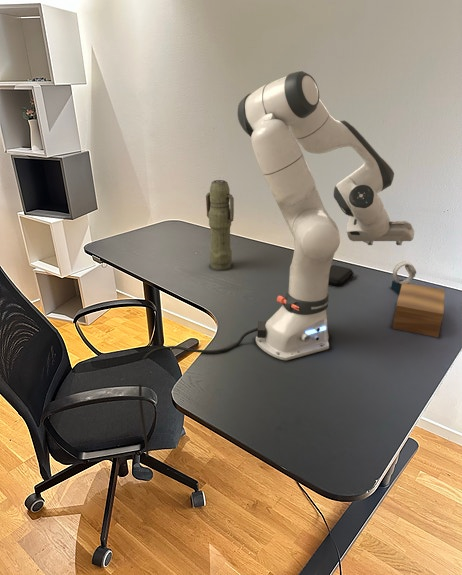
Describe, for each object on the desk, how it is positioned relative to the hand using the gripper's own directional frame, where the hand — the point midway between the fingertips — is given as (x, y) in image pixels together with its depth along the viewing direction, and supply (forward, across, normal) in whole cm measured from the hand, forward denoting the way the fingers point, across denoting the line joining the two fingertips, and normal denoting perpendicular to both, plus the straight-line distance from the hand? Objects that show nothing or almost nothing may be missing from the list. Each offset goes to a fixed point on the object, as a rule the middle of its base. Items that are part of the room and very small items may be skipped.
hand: (385, 243), depth 147 cm
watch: (+21, -2, +9) cm, 23 cm away
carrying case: (+16, +21, +7) cm, 28 cm away
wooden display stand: (+8, -12, +23) cm, 27 cm away
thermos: (+1, +65, +10) cm, 66 cm away
